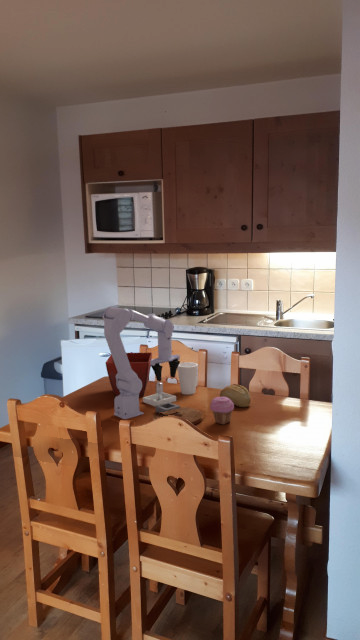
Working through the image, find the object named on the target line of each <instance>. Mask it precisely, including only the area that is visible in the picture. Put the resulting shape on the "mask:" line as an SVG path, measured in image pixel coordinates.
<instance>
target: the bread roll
mask: <svg viewBox="0 0 360 640" xmlns="http://www.w3.org/2000/svg"><path fill="white" fill-rule="evenodd" d="M219 397H227V398H229V399H230V400H231V401H232V402H233V404H234V406H237V407H239V408H247V407H249V406H250V405H251V401H252V399H251V398H252V397H251V395H250V391H249V390H248V388H247V387H245V386H243V385H240V384H236V383H233V384H231V385H227V386H225V387H224V388H222V389H221V390H220V393H219Z"/></svg>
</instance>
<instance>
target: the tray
mask: <svg viewBox="0 0 360 640" xmlns="http://www.w3.org/2000/svg"><path fill="white" fill-rule="evenodd" d="M142 402H143V403H145V404H147V405H150V406H152V407H155V406H157V405H160V404H164V403H167V402H170V403H174V402H177V396H176V395H173V394H169V393H167V392H164V391H163V399H162V400H159V401H156V393H154V394H151V395H148V396H142Z"/></svg>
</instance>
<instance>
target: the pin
mask: <svg viewBox="0 0 360 640" xmlns="http://www.w3.org/2000/svg"><path fill="white" fill-rule="evenodd" d="M163 392H164V383H163V382H162V381H155V394H156V401H159V400H162V399H163Z"/></svg>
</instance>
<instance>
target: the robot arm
mask: <svg viewBox="0 0 360 640" xmlns="http://www.w3.org/2000/svg"><path fill="white" fill-rule="evenodd" d="M102 319H103V323H104V324H103V334H104V337H105V341H106V344H107V346H108V349H109V351H110V355H112V357H113V360H114V363H115V366H116V368H117V371H118V373H117V375H116V376H115V377H116V386H117V388H118V389H119V390H120V393H121V394H120V395H118V396H115V398H114V400H113V401H114V402H113V403H114V413H113V415H114V416H116V417H118V418H120V419H123V420H128V419H130V418H134V417H138V416H140V415H144V412H142V411H140V397H139V393H140V391H141V389H142V381H141V380H140V379H139V378H138V376H137V374H136V373H135V372H134V371H133V370H132V369H131V366H130V363H129V360H128V357H127V354H126V353H127V351H126V349H125V346H124V342H123V341H122V338H121V333H122V332H123V331H124V329H125V328H126V327H127V326H128V324H129V323H130V322H132V321H136V322H139V323H142V324H143V326H144V327H145V328H146V329H150V330H153V331H155V332H156V333H157V352H158V353H157V355H158V357H156V358H154V359H152V360H150V365H151V369H152V370H153V372H154V376H155V378H156V382H162V372H163V365H161V364H164V363H168V365H169V374H170V377H171V378H173V379H175V378H176V374H177V371H178V370H177V367H178V365H179V364H180V363H181V358H180V357H181V355H180V354H173V350H172V349H173V348H172V346H173V345H172V337H173V332H174V330H175V325H174V324H173V322H172V321H171V320H170V319H165V318H164V317H162V316H157V315H156V314H155V313H153V312H152V313H148V314H144V313H140V312H138V311H136V310H135V309H130V308H125V307H124V308H122V307H115V306H108V307H107V308H106V309H105V311H104V312H103V314H102Z"/></svg>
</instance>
